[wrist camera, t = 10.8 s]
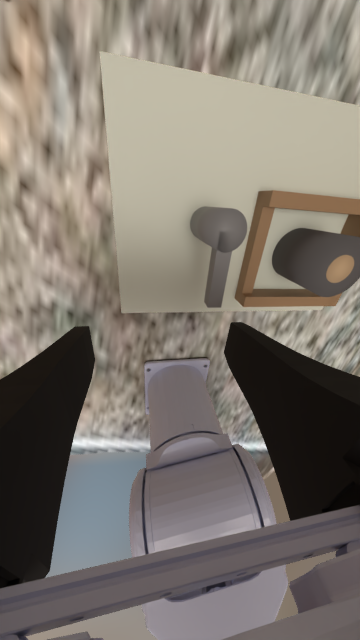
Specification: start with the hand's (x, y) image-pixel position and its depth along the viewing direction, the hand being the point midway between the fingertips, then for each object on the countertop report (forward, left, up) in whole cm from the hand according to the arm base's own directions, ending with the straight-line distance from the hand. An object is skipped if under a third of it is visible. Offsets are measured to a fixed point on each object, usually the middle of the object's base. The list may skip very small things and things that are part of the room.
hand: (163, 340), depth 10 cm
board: (+5, -8, -10) cm, 14 cm away
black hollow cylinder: (+3, -13, -9) cm, 16 cm away
